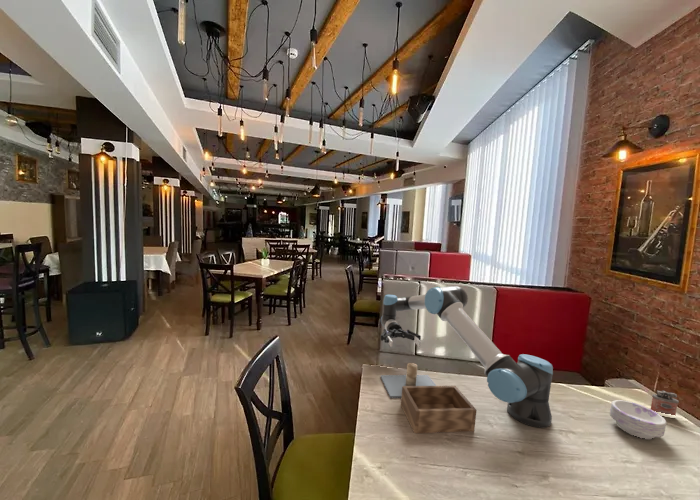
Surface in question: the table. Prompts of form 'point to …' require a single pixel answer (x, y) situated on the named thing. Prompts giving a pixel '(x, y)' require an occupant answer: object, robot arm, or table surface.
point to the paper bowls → (637, 419)
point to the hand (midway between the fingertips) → (405, 344)
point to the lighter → (664, 402)
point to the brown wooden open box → (437, 409)
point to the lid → (405, 381)
